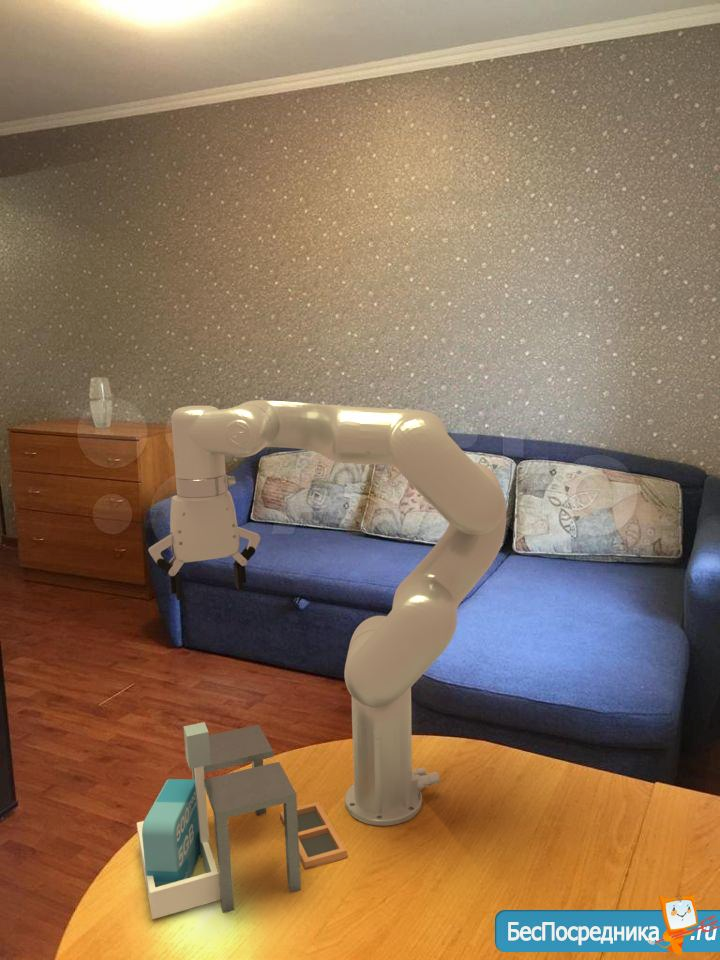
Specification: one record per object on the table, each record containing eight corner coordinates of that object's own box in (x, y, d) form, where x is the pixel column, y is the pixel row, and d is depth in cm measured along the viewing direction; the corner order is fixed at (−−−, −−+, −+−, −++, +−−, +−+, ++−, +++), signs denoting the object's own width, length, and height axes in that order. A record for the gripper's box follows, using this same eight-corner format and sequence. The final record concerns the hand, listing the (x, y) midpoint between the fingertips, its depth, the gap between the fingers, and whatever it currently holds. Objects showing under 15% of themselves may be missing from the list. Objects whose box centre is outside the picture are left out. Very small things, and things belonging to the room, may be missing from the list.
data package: (179, 904, 106) (173, 826, 104) (147, 903, 107) (140, 825, 104) (204, 846, 118) (199, 774, 116) (175, 845, 119) (169, 774, 116)
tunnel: (263, 808, 127) (258, 724, 124) (301, 889, 109) (296, 793, 106) (196, 825, 123) (189, 739, 120) (223, 913, 105) (215, 813, 102)
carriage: (206, 828, 122) (196, 702, 118) (228, 897, 107) (218, 755, 103) (138, 846, 118) (126, 716, 114) (152, 919, 104) (138, 773, 99)
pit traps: (318, 808, 127) (318, 801, 127) (346, 857, 115) (346, 850, 115) (280, 818, 125) (279, 811, 124) (305, 869, 113) (304, 862, 113)
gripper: (250, 477, 126) (256, 577, 130) (140, 488, 120) (150, 593, 123) (262, 485, 119) (268, 591, 123) (146, 497, 113) (156, 609, 117)
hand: (209, 592), depth 123 cm, fingers open, 9 cm apart
